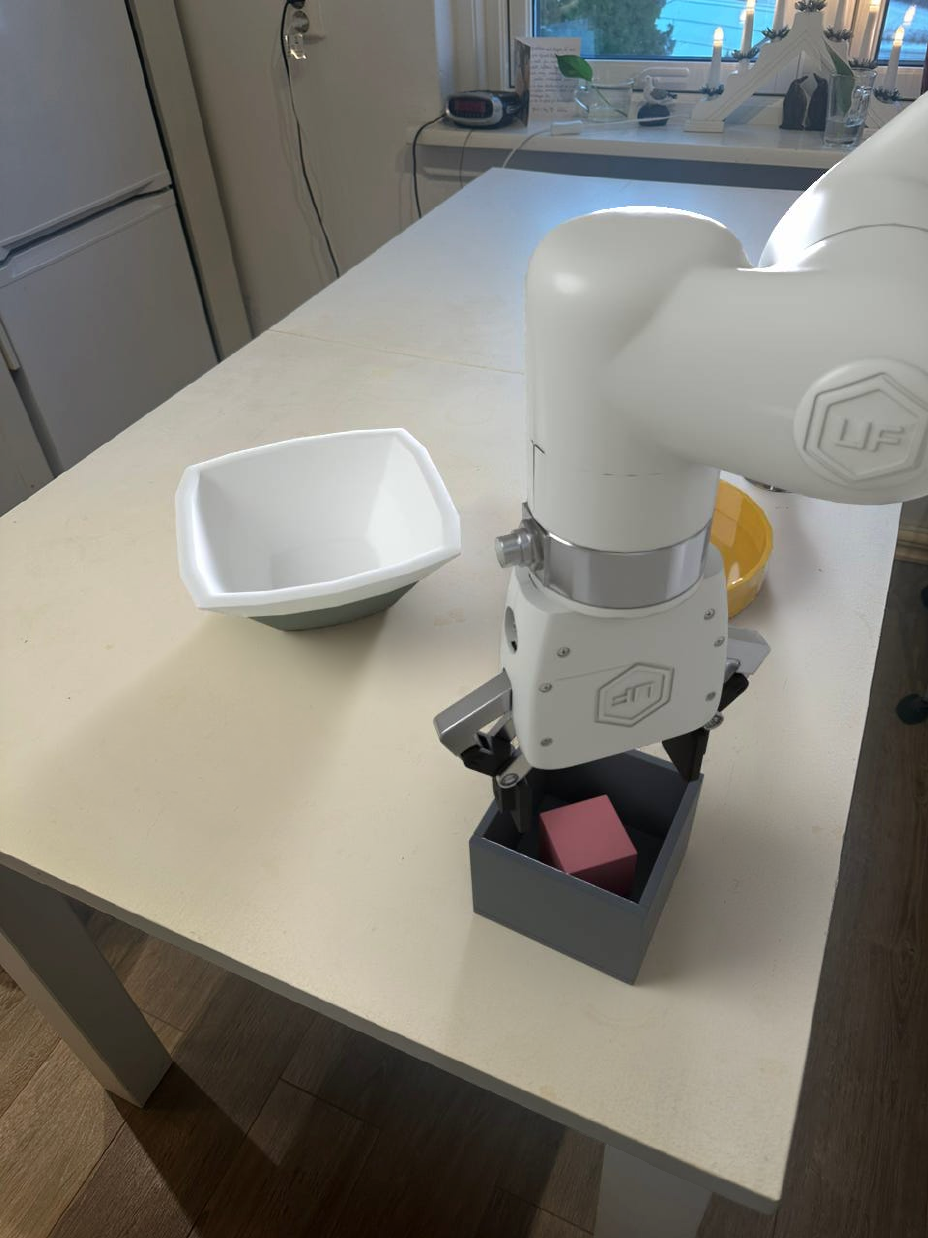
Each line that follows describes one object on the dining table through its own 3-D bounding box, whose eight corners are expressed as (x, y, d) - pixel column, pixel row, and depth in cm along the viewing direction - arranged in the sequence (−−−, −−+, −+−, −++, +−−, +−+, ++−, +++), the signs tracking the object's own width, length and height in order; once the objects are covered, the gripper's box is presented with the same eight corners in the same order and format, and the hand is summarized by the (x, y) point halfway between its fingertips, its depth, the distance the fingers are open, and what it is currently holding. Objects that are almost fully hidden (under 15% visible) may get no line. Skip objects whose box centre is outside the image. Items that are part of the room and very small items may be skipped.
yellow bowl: (696, 477, 87) (700, 446, 85) (811, 601, 73) (821, 568, 70) (506, 518, 83) (506, 487, 81) (588, 657, 69) (591, 625, 67)
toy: (602, 835, 56) (606, 793, 53) (631, 893, 53) (638, 853, 50) (537, 854, 55) (539, 813, 52) (563, 914, 52) (566, 874, 49)
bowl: (418, 491, 87) (411, 416, 82) (485, 642, 71) (482, 560, 65) (194, 535, 83) (171, 459, 78) (210, 705, 67) (181, 624, 61)
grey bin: (541, 789, 60) (544, 715, 55) (687, 847, 56) (704, 773, 51) (473, 912, 53) (467, 841, 48) (632, 987, 49) (645, 918, 44)
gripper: (443, 642, 32) (469, 890, 44) (852, 539, 35) (776, 796, 47) (396, 530, 38) (429, 776, 49) (754, 449, 41) (707, 699, 52)
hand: (599, 786), depth 48 cm, fingers open, 9 cm apart
